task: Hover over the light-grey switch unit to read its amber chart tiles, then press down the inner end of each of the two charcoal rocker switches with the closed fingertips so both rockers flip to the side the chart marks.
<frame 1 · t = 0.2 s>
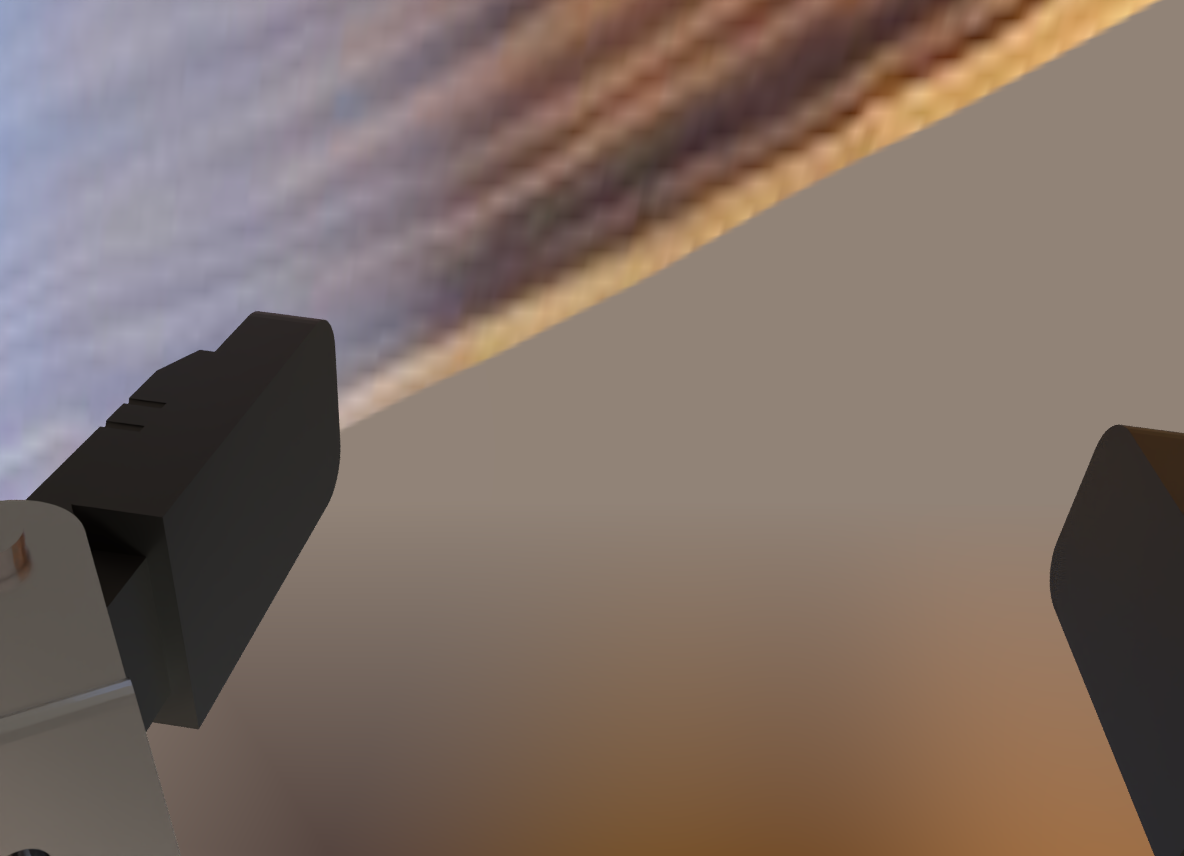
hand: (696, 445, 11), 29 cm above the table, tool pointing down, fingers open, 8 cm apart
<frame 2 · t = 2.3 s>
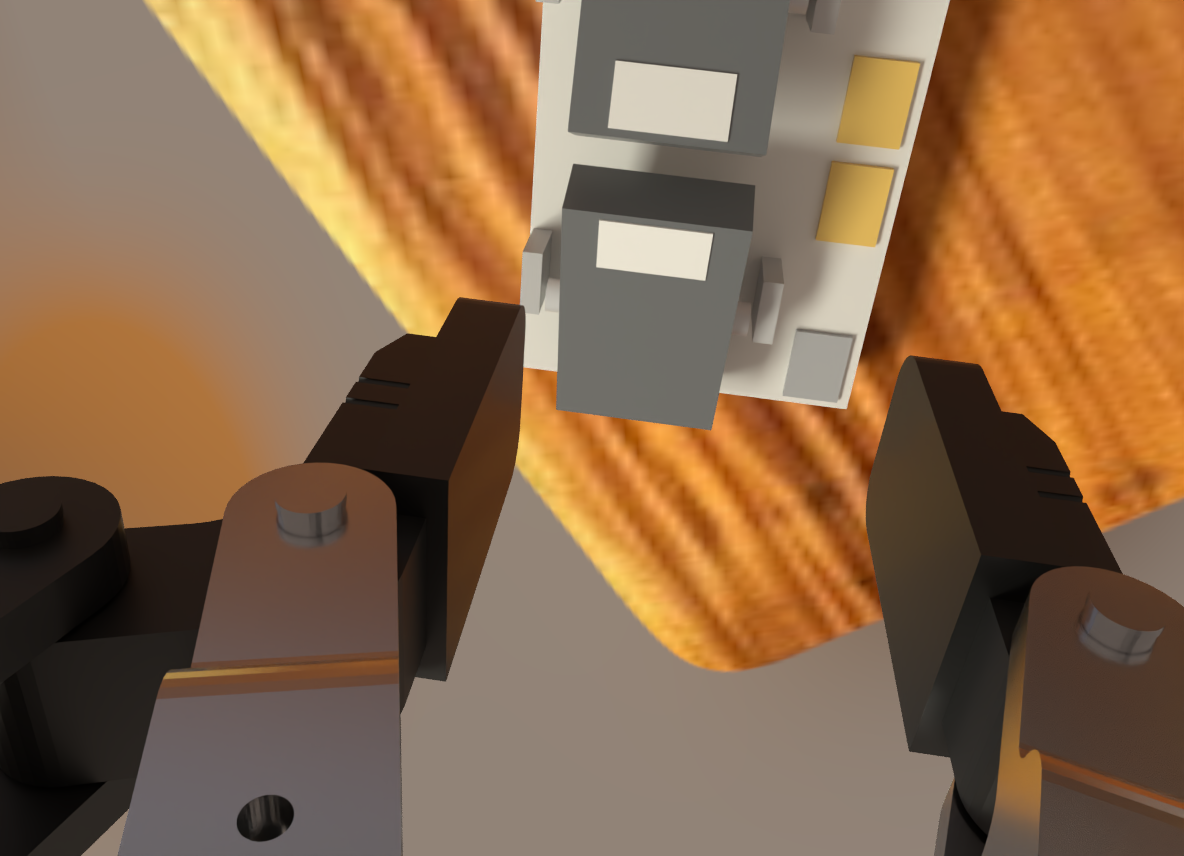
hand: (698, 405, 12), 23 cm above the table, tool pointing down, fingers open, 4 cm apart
switch unit: (721, 111, 33), on the table
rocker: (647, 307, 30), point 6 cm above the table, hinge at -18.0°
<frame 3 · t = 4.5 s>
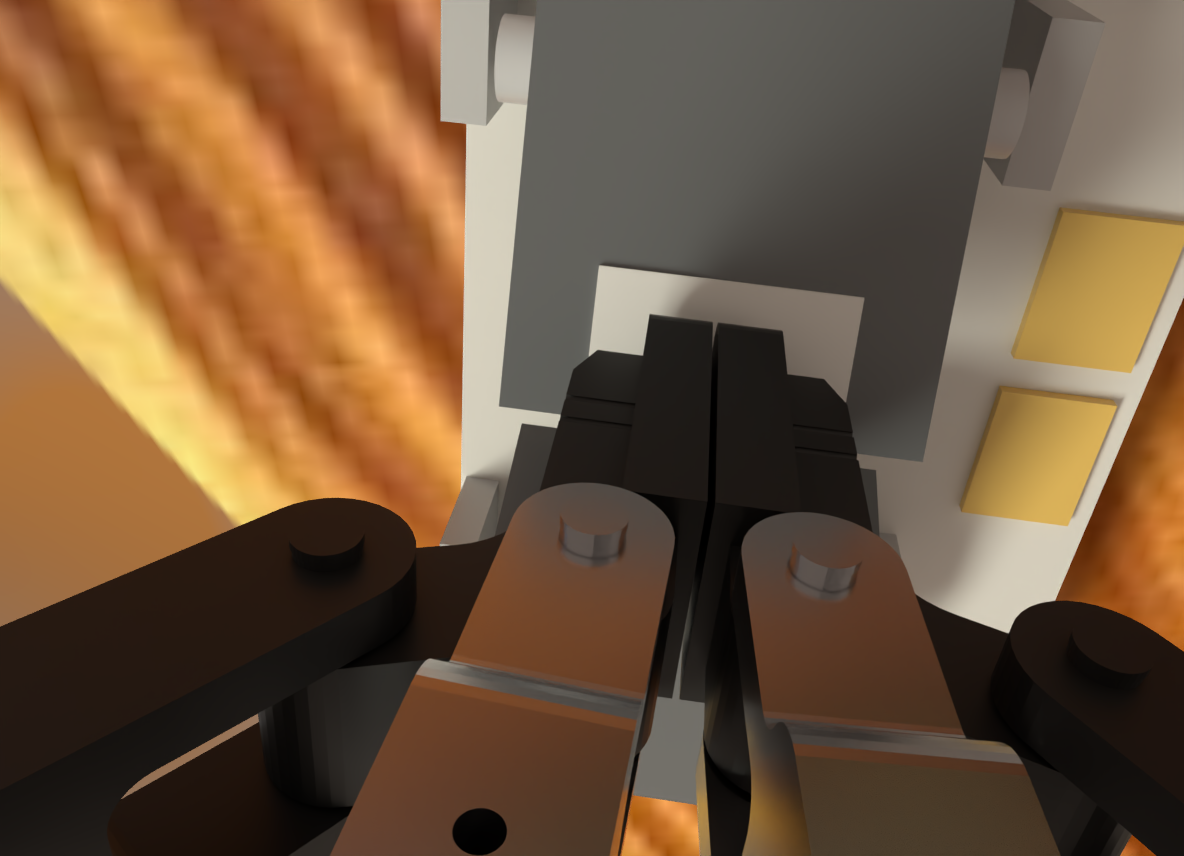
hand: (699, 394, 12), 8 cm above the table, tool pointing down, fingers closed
switch unit: (789, 271, 19), on the table
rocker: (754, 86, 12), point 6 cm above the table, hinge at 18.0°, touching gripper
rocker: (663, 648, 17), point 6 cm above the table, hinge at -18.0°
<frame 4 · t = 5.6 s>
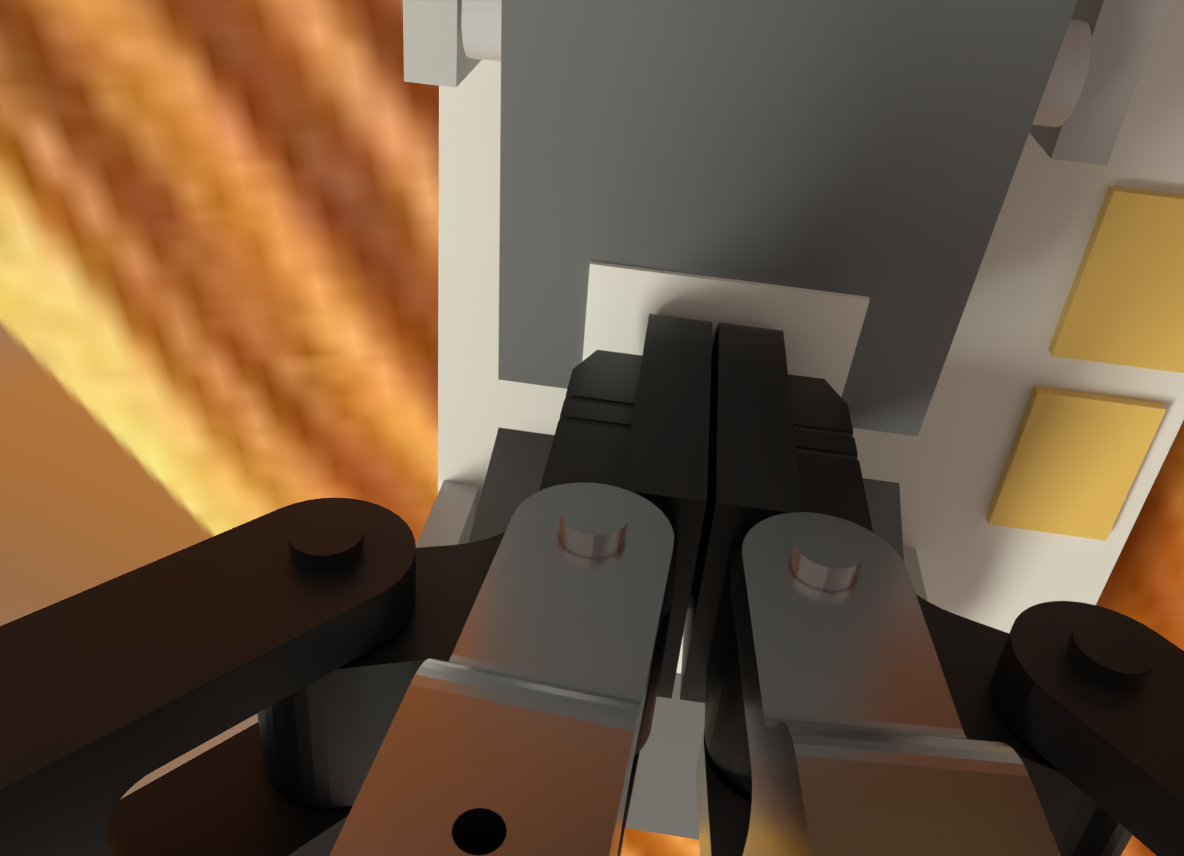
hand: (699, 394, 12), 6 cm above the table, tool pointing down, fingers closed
switch unit: (800, 256, 17), on the table
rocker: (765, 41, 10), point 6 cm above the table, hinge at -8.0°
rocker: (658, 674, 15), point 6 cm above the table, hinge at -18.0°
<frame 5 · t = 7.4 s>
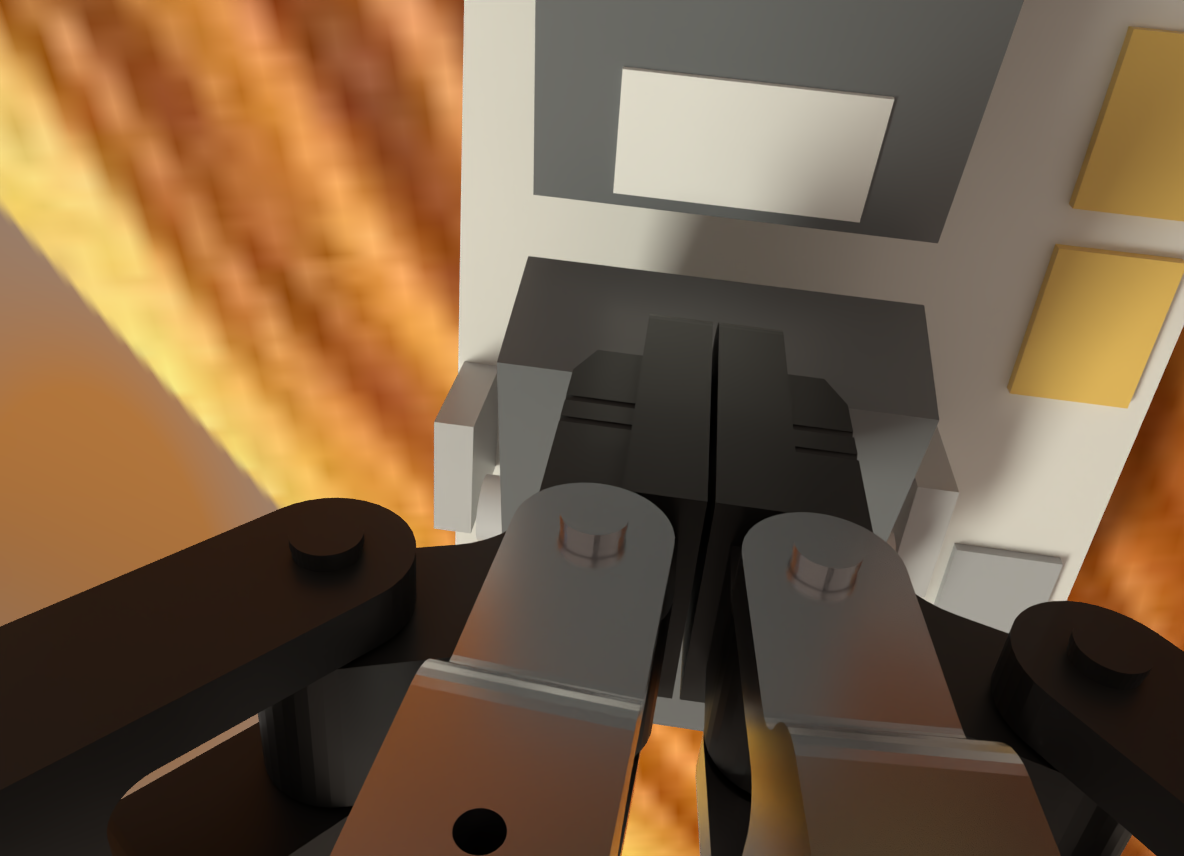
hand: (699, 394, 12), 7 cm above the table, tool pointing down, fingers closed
switch unit: (817, 141, 17), on the table
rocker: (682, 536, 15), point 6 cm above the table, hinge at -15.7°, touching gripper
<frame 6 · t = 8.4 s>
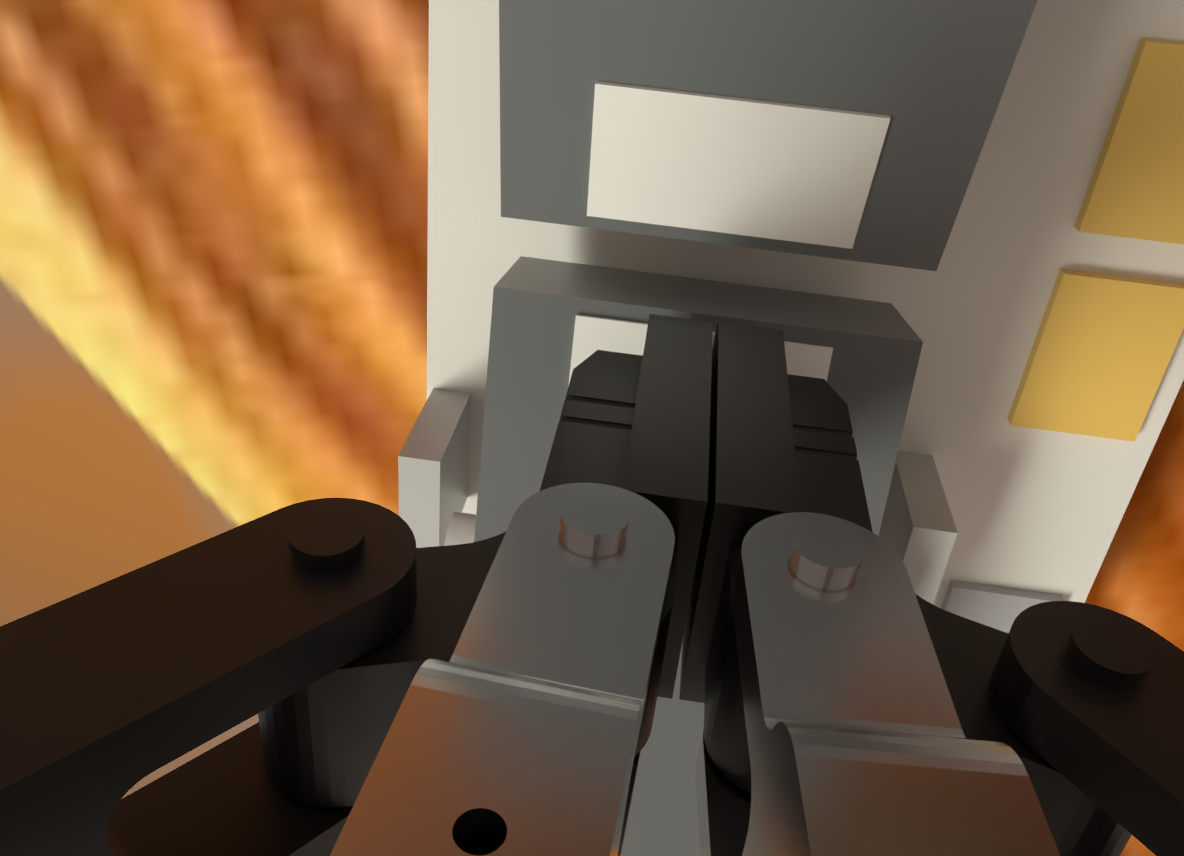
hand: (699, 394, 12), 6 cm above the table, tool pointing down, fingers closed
switch unit: (807, 156, 17), on the table
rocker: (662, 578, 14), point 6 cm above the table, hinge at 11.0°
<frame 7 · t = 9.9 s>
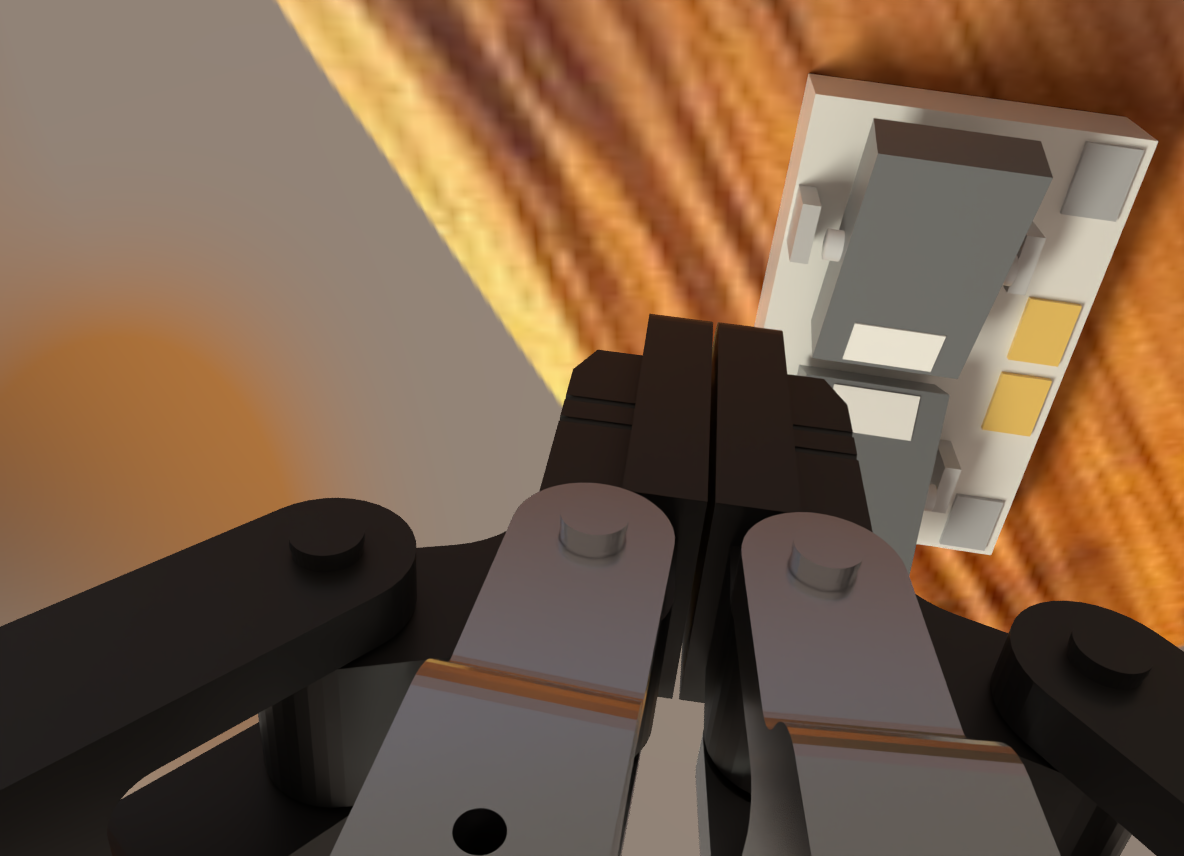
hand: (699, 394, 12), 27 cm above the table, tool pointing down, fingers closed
switch unit: (900, 316, 40), on the table
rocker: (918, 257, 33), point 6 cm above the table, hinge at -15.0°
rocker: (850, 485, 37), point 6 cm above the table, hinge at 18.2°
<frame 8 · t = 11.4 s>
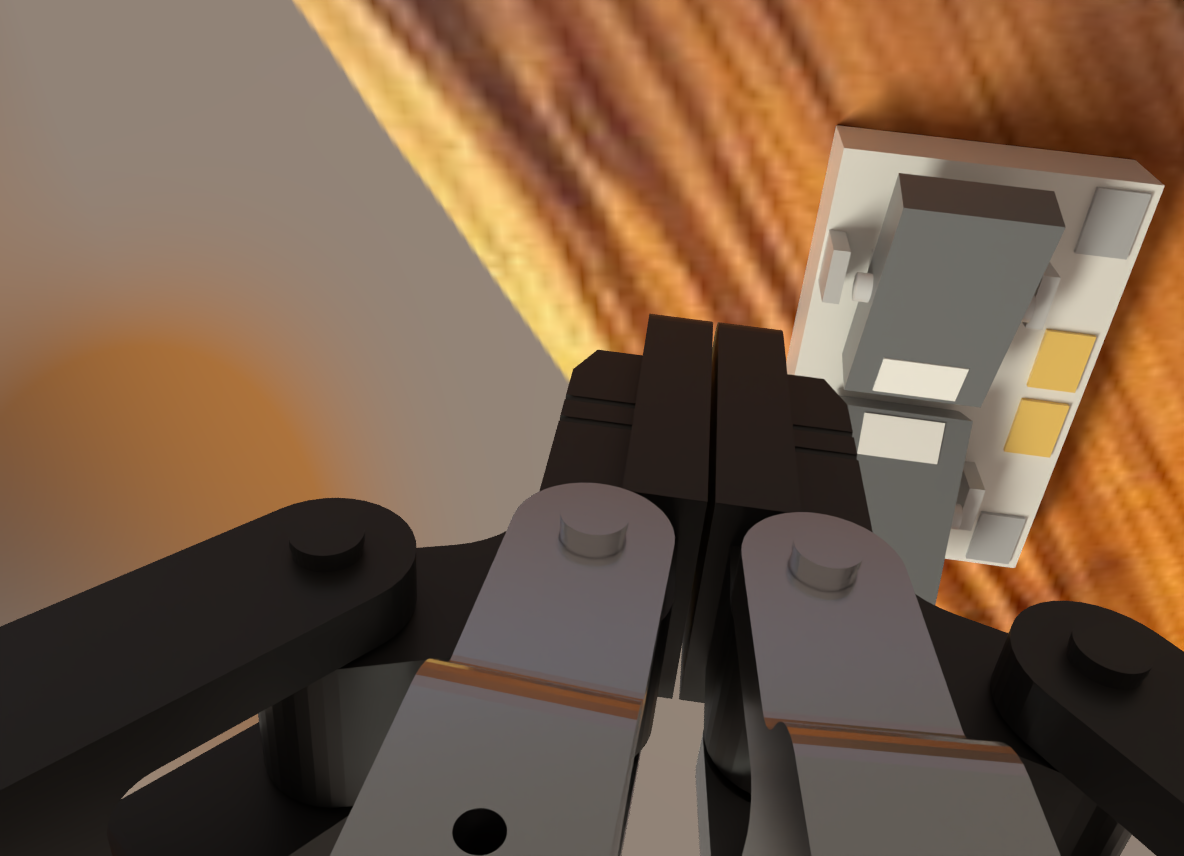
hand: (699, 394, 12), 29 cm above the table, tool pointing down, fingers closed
switch unit: (925, 345, 42), on the table
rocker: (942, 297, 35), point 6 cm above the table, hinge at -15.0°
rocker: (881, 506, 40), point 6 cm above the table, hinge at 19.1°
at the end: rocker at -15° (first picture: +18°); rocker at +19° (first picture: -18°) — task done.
